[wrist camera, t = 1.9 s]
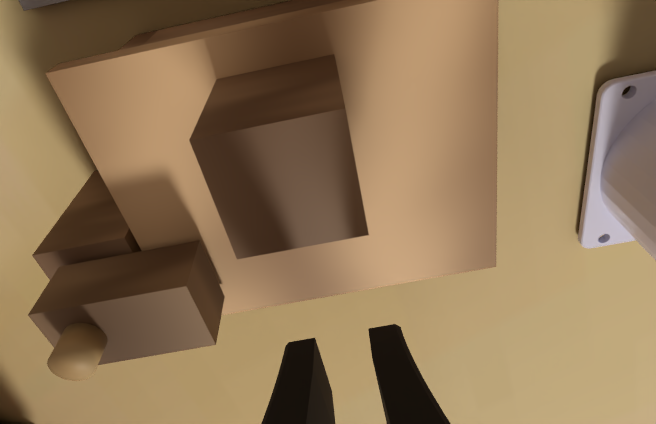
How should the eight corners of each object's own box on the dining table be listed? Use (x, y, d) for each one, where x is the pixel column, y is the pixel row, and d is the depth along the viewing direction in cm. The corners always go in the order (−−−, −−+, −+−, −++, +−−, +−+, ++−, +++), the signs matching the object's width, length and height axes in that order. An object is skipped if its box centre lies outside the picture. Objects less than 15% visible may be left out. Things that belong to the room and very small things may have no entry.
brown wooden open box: (426, -31, 15) (476, 1, 11) (441, 177, 20) (480, 258, 16) (31, 58, 16) (-66, 118, 12) (130, 237, 21) (85, 329, 16)
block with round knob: (199, 239, 14) (177, 313, 12) (225, 296, 16) (210, 373, 13) (59, 266, 15) (9, 344, 12) (95, 319, 16) (57, 399, 13)
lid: (486, -32, 11) (570, 4, 8) (488, 251, 16) (540, 351, 13) (59, 63, 12) (-41, 134, 9) (185, 305, 17) (155, 413, 14)
